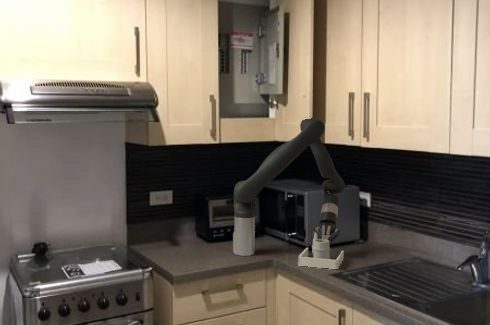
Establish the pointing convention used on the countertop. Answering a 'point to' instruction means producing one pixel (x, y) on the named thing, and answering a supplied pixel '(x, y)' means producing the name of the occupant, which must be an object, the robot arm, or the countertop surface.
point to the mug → (320, 248)
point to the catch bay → (319, 261)
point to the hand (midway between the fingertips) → (323, 248)
